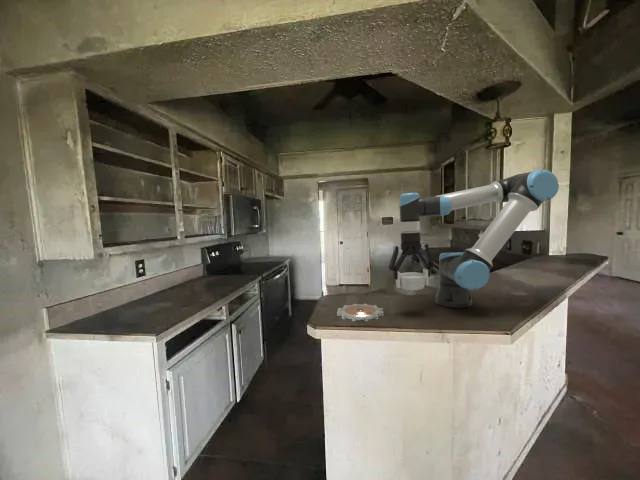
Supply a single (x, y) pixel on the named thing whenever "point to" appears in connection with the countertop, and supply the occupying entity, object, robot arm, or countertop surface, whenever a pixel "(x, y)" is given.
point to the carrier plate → (360, 312)
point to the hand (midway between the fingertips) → (412, 286)
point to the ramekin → (412, 280)
